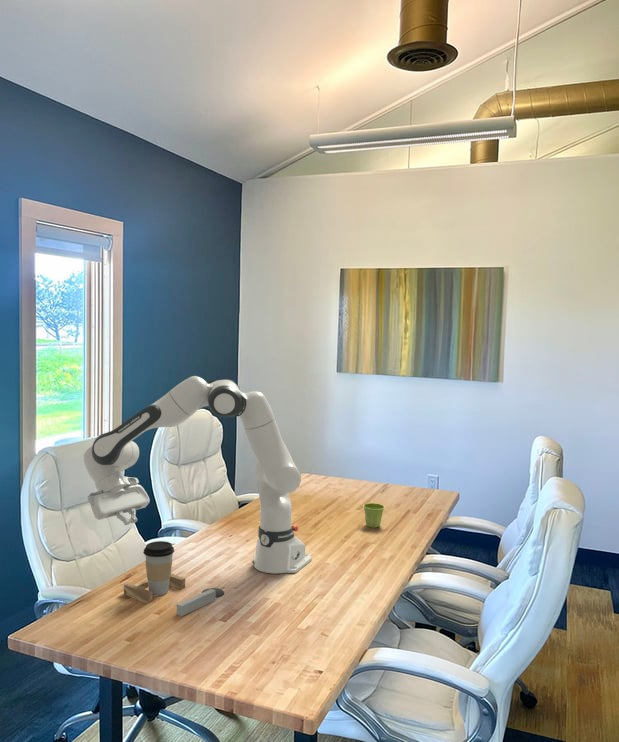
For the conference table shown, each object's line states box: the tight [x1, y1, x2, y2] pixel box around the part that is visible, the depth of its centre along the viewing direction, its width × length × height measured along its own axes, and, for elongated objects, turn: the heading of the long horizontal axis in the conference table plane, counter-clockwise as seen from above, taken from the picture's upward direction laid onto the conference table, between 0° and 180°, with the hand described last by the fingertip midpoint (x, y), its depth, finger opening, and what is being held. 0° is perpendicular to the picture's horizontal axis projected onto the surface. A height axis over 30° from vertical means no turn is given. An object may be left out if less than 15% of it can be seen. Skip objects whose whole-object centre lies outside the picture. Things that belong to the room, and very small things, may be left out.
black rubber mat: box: [201, 587, 225, 598], centre depth 196 cm, size 7×7×1 cm
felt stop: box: [176, 588, 216, 617], centre depth 186 cm, size 14×2×3 cm, turn 145°
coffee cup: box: [142, 540, 175, 597], centre depth 195 cm, size 9×9×15 cm
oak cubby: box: [123, 572, 186, 605], centre depth 196 cm, size 15×11×3 cm
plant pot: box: [362, 502, 386, 528], centre depth 269 cm, size 9×9×9 cm
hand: (131, 522), depth 202 cm, fingers closed
